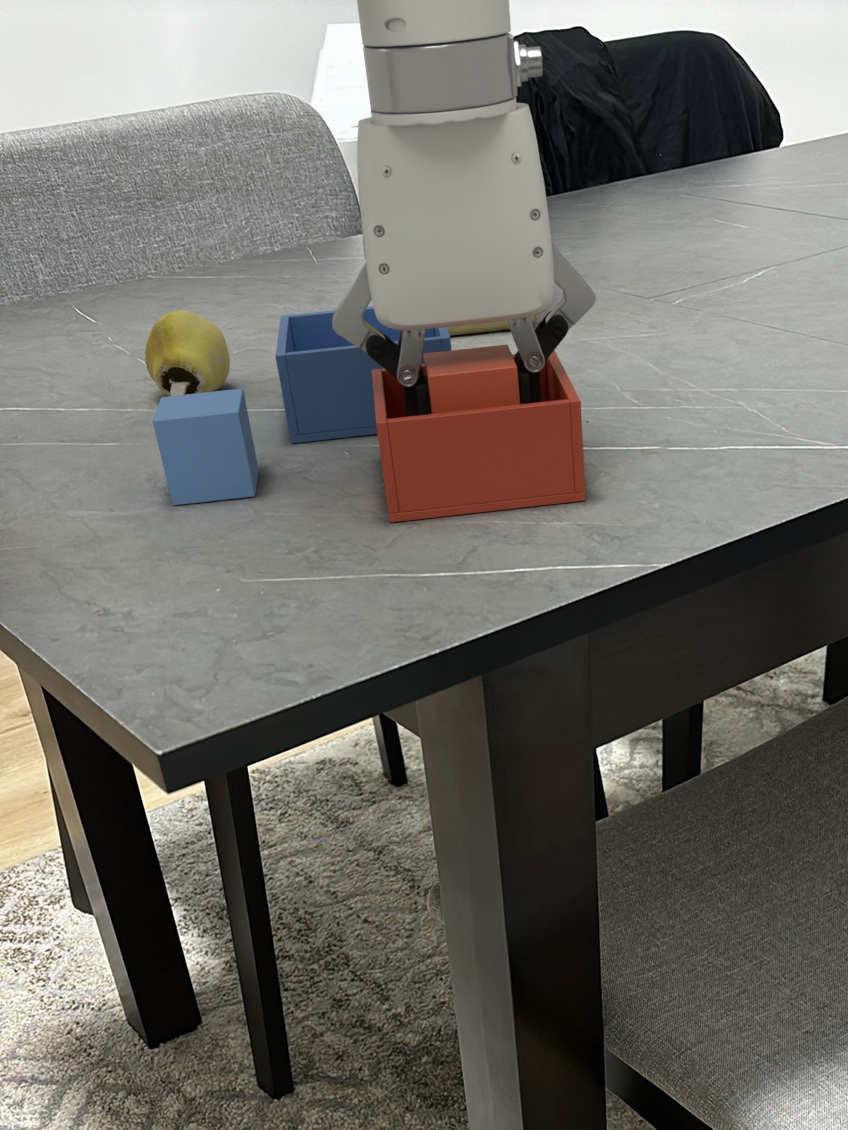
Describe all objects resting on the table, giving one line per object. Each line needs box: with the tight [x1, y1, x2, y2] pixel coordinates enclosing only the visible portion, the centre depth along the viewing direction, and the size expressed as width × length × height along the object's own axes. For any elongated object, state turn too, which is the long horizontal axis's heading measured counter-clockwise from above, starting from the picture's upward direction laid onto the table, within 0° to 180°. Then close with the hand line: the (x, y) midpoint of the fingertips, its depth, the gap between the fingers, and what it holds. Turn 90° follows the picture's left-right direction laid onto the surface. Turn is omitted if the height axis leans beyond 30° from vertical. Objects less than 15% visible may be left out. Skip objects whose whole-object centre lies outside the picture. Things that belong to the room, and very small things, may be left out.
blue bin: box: [275, 305, 453, 444], centre depth 95 cm, size 11×11×6 cm
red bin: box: [372, 349, 587, 523], centre depth 81 cm, size 11×11×6 cm
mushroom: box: [144, 309, 231, 397], centre depth 100 cm, size 6×6×10 cm
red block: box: [423, 344, 520, 414], centre depth 80 cm, size 5×5×5 cm
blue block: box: [152, 388, 260, 506], centre depth 84 cm, size 5×5×5 cm
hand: (477, 441), depth 82 cm, fingers closed on red block, 5 cm apart
